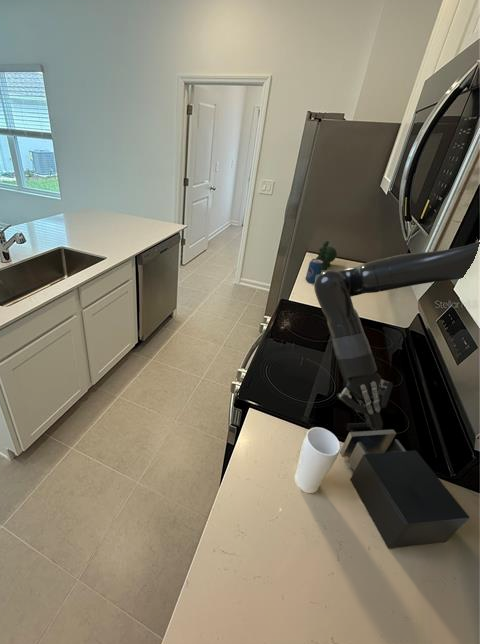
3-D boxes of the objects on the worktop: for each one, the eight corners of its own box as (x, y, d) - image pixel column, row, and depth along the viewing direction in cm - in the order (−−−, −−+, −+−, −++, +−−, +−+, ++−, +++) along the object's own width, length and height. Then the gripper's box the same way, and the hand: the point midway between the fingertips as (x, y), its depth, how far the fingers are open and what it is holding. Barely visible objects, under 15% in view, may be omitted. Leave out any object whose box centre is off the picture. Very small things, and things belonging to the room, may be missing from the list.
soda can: (302, 279, 168) (307, 258, 162) (313, 278, 169) (319, 258, 163) (309, 284, 162) (315, 263, 156) (321, 284, 164) (327, 263, 158)
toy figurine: (324, 277, 175) (337, 261, 192) (332, 246, 165) (345, 232, 181) (308, 272, 180) (321, 257, 197) (315, 242, 170) (329, 229, 186)
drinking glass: (304, 502, 66) (322, 460, 59) (284, 474, 72) (299, 432, 64) (328, 490, 69) (348, 449, 61) (307, 464, 74) (323, 422, 67)
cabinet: (349, 479, 71) (363, 454, 67) (399, 475, 73) (415, 450, 68) (388, 548, 60) (407, 524, 55) (445, 542, 61) (470, 517, 56)
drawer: (331, 438, 80) (340, 418, 76) (371, 435, 81) (382, 415, 77) (369, 506, 66) (383, 485, 62) (418, 501, 67) (433, 481, 63)
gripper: (335, 361, 67) (360, 442, 65) (390, 346, 68) (416, 425, 66) (319, 360, 74) (340, 432, 72) (368, 346, 75) (391, 417, 73)
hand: (376, 429), depth 69 cm, fingers closed
